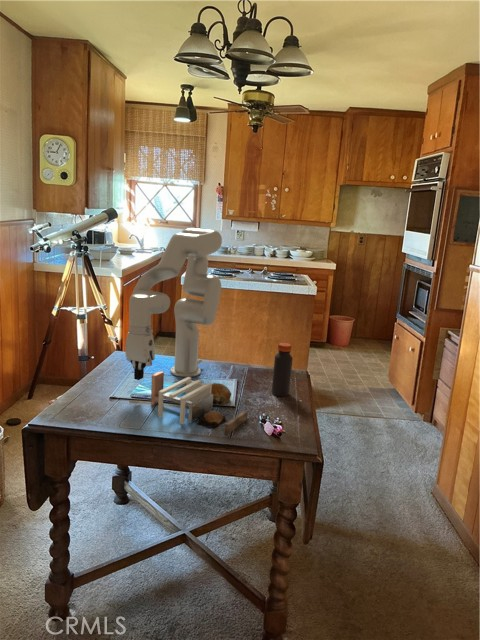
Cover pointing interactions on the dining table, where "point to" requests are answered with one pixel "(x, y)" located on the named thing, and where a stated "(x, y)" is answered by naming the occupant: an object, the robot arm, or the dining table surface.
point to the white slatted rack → (193, 394)
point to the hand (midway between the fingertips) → (138, 378)
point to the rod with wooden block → (194, 408)
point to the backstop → (235, 422)
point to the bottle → (282, 370)
